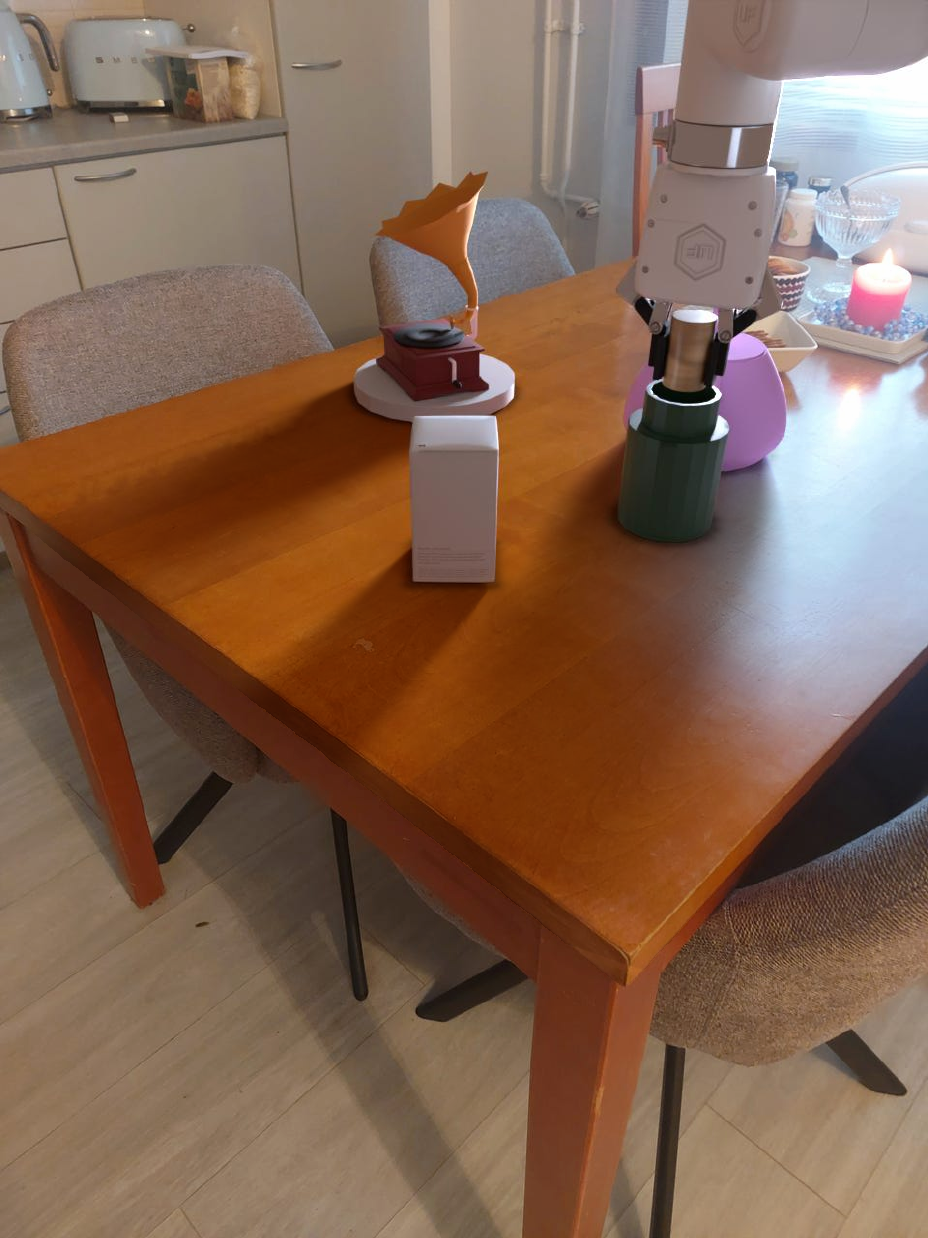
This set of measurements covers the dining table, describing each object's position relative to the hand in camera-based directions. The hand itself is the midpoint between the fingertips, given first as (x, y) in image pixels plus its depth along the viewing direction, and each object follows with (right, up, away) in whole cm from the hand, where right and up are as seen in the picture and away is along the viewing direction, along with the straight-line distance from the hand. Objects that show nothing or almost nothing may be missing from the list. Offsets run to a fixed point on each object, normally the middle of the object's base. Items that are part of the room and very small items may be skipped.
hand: (685, 376), depth 79 cm
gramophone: (-23, +8, +35) cm, 43 cm away
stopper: (0, -1, 0) cm, 1 cm away
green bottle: (0, -12, +8) cm, 14 cm away
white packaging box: (-20, -16, +2) cm, 26 cm away
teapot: (+8, -1, +23) cm, 25 cm away
